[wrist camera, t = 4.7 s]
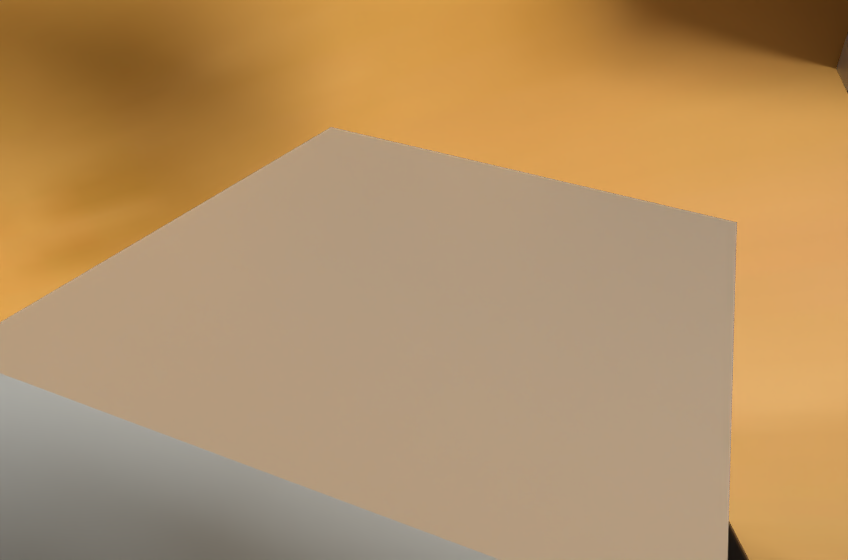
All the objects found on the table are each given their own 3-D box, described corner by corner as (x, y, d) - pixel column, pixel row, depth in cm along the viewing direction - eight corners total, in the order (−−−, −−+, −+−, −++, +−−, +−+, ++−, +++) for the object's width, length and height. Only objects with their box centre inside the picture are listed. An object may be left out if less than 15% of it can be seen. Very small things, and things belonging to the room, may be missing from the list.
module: (610, 594, 9) (519, 1080, 5) (311, 483, 10) (63, 827, 7) (739, 223, 7) (732, 646, 3) (328, 126, 8) (-56, 353, 4)
